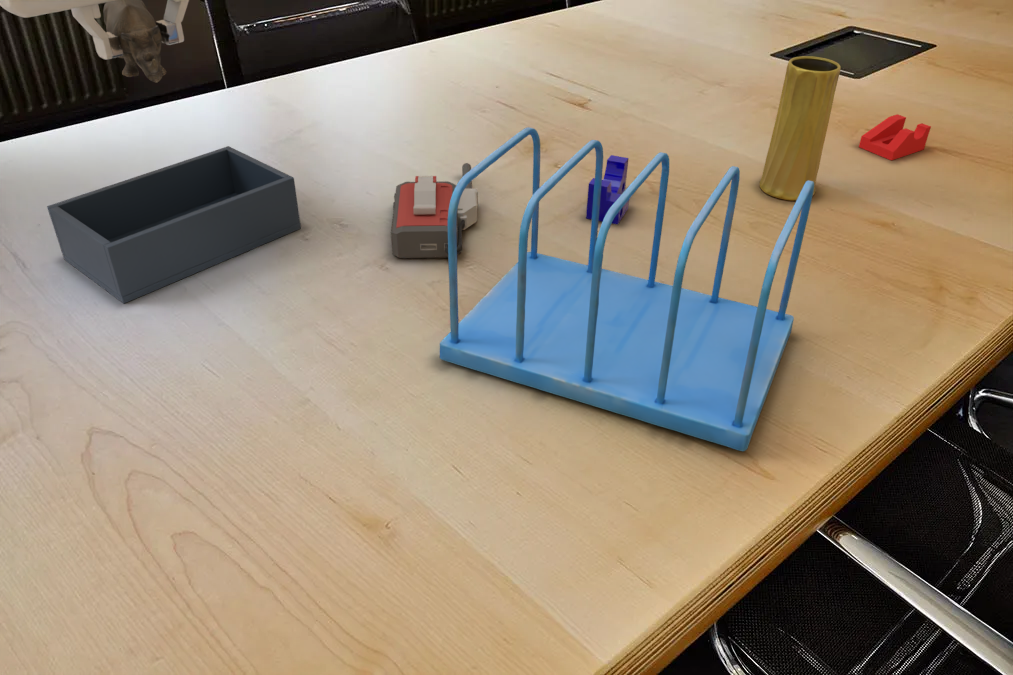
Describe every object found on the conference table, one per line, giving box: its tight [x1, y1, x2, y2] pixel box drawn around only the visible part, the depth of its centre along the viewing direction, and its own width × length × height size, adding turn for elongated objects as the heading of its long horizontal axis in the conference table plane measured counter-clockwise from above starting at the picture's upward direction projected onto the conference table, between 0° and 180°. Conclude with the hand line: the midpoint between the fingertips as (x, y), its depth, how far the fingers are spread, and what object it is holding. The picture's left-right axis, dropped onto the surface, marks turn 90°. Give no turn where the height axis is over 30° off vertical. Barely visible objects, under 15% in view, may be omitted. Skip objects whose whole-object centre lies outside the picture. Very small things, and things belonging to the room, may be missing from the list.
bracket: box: [858, 113, 932, 161], centre depth 106 cm, size 6×5×3 cm
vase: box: [759, 55, 841, 202], centre depth 93 cm, size 6×6×14 cm
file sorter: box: [439, 126, 814, 452], centre depth 67 cm, size 25×17×15 cm
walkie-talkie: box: [390, 162, 479, 259], centre depth 89 cm, size 9×4×20 cm
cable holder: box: [585, 154, 630, 226], centre depth 92 cm, size 8×4×4 cm, turn 158°
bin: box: [46, 145, 302, 304], centre depth 83 cm, size 11×19×6 cm, turn 138°
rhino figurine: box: [102, 0, 167, 83], centre depth 74 cm, size 4×14×6 cm, turn 28°
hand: (142, 49), depth 74 cm, fingers closed on rhino figurine, 4 cm apart
